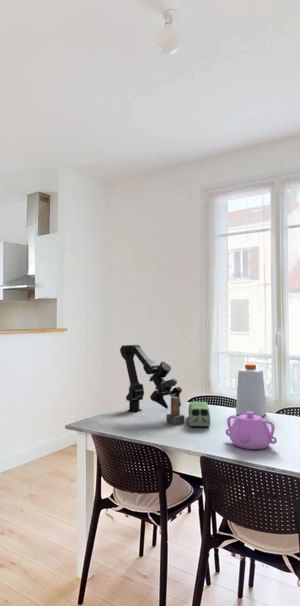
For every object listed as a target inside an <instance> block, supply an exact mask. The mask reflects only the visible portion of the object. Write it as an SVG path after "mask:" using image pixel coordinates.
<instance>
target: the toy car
mask: <svg viewBox="0 0 300 606" xmlns="http://www.w3.org/2000/svg"><path fill="white" fill-rule="evenodd" d="M210 413H211V412H210V408H209V405H208V403H207V401H190V402H189V406H188V422H189V427H191V428H193V427H206V428H210V426H211V414H210Z"/></svg>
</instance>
